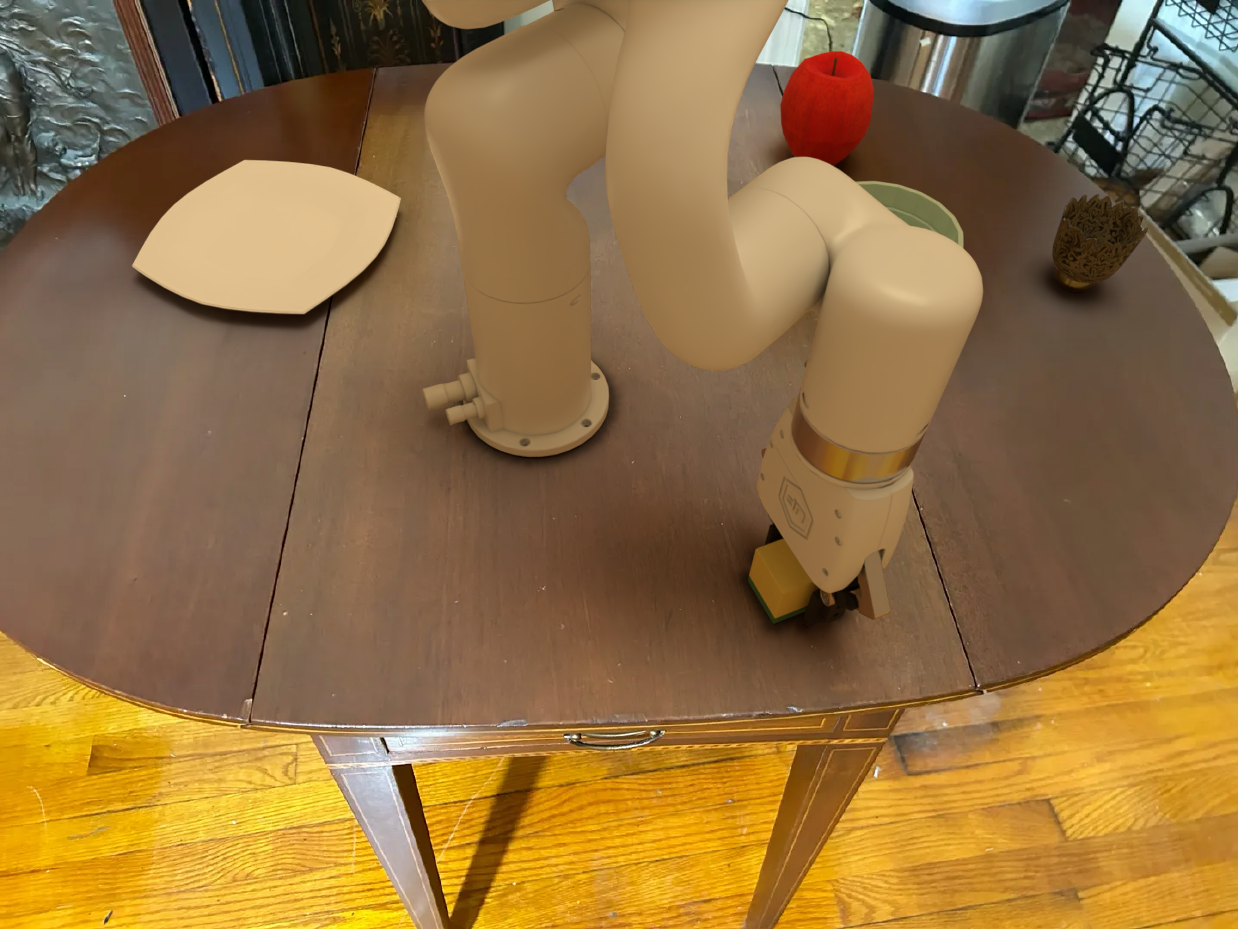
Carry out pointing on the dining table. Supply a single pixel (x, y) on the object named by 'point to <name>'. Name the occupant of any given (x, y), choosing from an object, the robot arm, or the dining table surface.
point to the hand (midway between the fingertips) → (802, 581)
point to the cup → (1094, 241)
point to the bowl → (915, 208)
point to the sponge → (780, 581)
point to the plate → (269, 237)
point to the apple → (827, 106)
